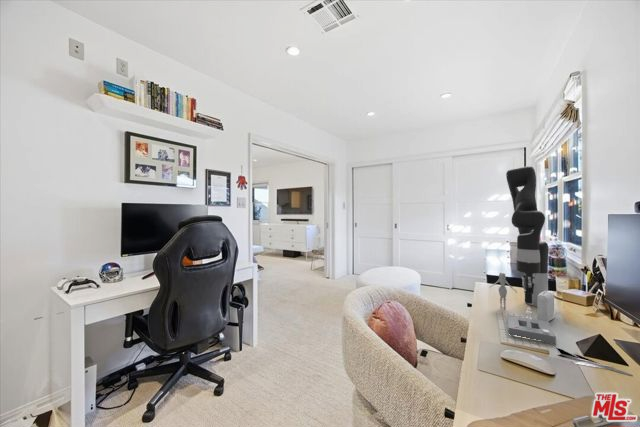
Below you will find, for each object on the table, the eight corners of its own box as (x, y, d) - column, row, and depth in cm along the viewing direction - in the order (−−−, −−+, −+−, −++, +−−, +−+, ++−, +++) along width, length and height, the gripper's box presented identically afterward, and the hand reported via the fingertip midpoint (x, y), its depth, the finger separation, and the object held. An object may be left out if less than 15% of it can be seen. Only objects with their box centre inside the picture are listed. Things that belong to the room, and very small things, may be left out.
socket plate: (506, 321, 116) (506, 312, 116) (548, 328, 109) (548, 319, 109) (508, 335, 103) (508, 325, 103) (555, 344, 95) (555, 334, 95)
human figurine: (518, 310, 129) (518, 274, 129) (516, 312, 126) (516, 275, 126) (490, 304, 138) (489, 270, 138) (488, 306, 135) (487, 271, 135)
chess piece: (518, 329, 108) (517, 305, 108) (529, 328, 109) (529, 304, 109) (528, 334, 103) (528, 309, 103) (540, 334, 104) (539, 309, 104)
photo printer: (544, 314, 123) (543, 288, 123) (555, 317, 120) (555, 290, 120) (535, 319, 118) (535, 292, 118) (548, 323, 114) (547, 294, 114)
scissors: (634, 383, 74) (634, 375, 74) (539, 354, 90) (539, 347, 90) (633, 372, 79) (633, 364, 79) (543, 346, 95) (543, 340, 95)
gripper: (515, 257, 113) (515, 297, 113) (517, 261, 102) (518, 305, 102) (537, 258, 109) (538, 300, 109) (542, 263, 98) (543, 309, 98)
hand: (528, 302), depth 106 cm, fingers closed
